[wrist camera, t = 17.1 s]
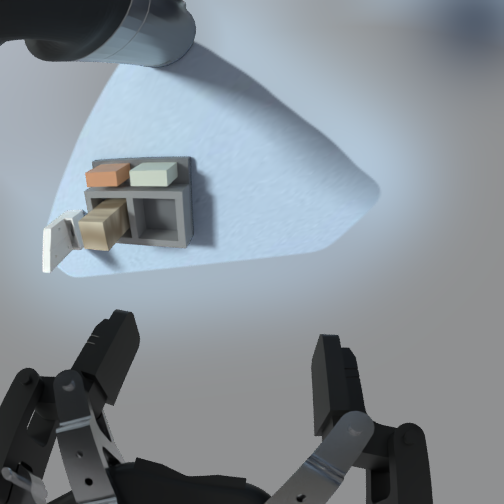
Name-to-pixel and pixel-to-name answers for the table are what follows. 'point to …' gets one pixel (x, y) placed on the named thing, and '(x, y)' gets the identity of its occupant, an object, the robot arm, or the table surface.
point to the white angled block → (61, 238)
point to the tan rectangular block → (105, 224)
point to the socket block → (147, 197)
